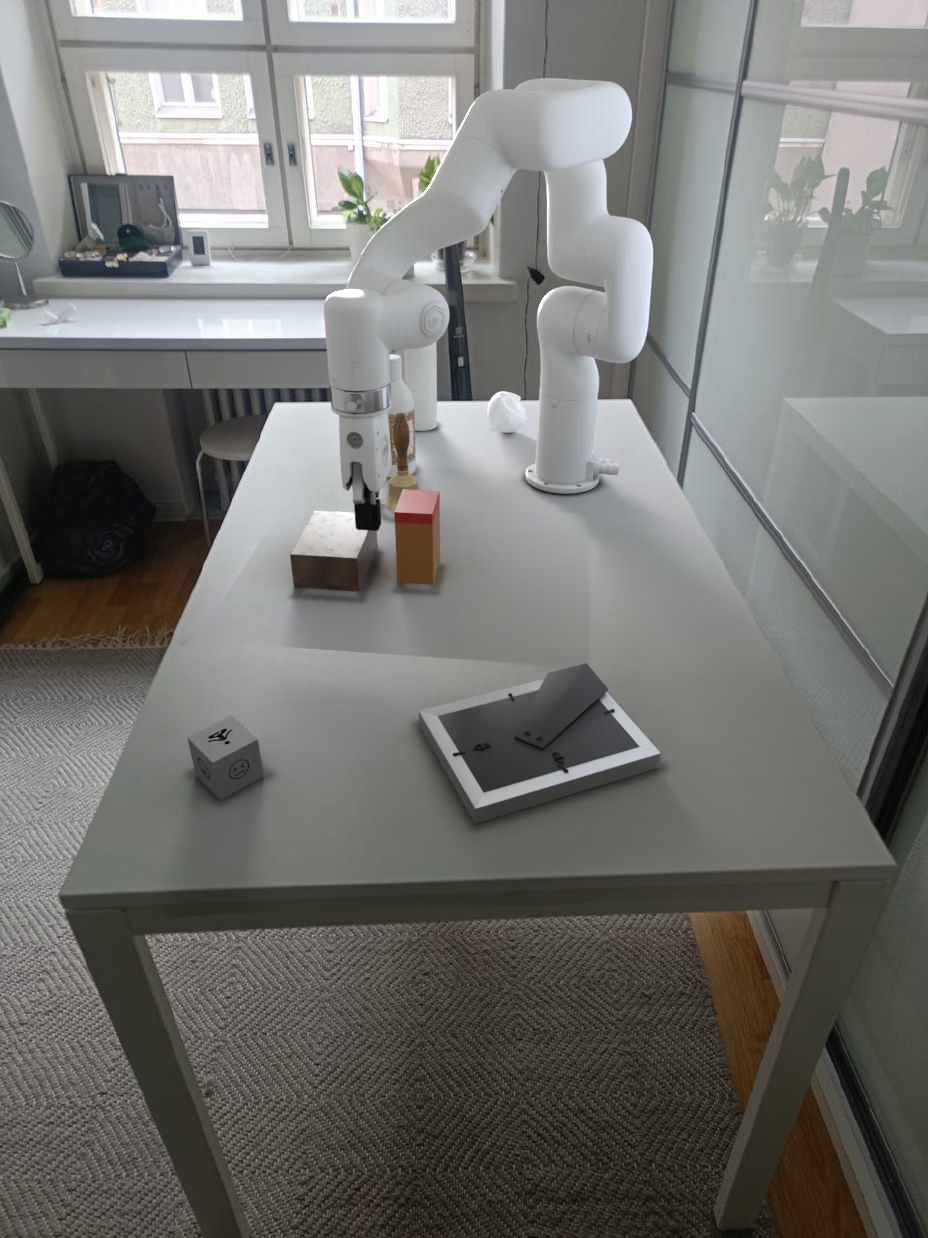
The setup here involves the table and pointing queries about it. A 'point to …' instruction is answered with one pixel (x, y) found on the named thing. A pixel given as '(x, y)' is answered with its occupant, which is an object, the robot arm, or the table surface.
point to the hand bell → (400, 464)
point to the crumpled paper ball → (506, 412)
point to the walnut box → (332, 553)
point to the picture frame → (535, 742)
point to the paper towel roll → (421, 383)
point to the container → (417, 536)
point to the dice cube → (226, 757)
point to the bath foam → (401, 404)
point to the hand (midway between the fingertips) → (368, 527)
